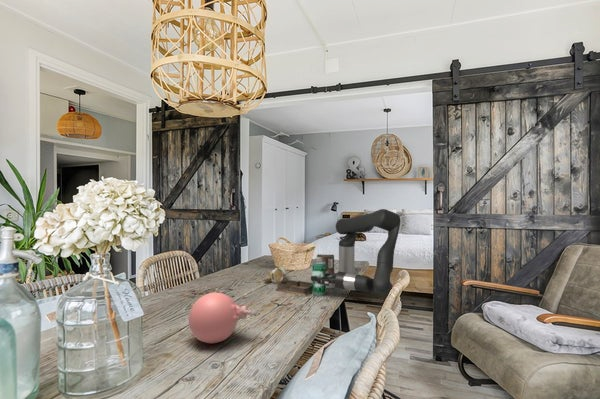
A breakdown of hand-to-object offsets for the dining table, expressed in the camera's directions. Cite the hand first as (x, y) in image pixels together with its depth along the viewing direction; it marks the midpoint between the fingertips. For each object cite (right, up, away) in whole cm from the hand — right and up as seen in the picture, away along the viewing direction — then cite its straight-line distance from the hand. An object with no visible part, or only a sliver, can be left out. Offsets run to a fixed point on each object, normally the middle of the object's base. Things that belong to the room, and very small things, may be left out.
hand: (314, 276), depth 157 cm
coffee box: (+6, -8, +13) cm, 16 cm away
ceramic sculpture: (-20, -8, +21) cm, 30 cm away
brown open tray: (-9, -8, +5) cm, 13 cm away
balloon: (-33, -9, -52) cm, 62 cm away
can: (+2, -8, -1) cm, 9 cm away
